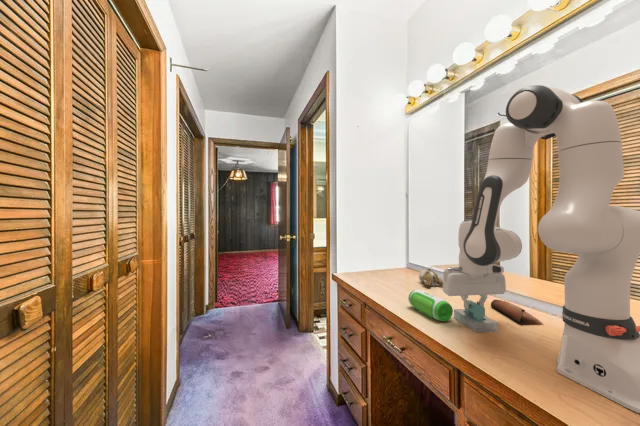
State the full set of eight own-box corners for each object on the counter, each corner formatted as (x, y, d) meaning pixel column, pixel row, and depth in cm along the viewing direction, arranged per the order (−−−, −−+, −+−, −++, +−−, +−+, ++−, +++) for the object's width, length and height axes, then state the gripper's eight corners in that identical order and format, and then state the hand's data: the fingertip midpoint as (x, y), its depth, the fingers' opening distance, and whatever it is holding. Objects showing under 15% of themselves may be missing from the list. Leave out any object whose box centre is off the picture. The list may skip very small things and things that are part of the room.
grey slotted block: (497, 331, 90) (497, 322, 90) (475, 332, 89) (475, 323, 89) (472, 316, 103) (472, 308, 102) (454, 317, 102) (453, 309, 102)
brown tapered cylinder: (546, 325, 94) (535, 307, 94) (528, 336, 94) (517, 318, 94) (512, 307, 112) (502, 292, 112) (496, 316, 112) (487, 301, 112)
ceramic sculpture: (432, 265, 154) (448, 272, 140) (432, 280, 155) (448, 289, 140) (413, 266, 153) (428, 273, 138) (413, 282, 154) (428, 291, 139)
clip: (485, 329, 92) (484, 307, 92) (478, 329, 92) (477, 308, 92) (470, 319, 100) (470, 300, 100) (464, 320, 100) (463, 300, 100)
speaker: (454, 321, 99) (454, 300, 99) (436, 324, 97) (436, 302, 97) (423, 306, 116) (422, 287, 116) (407, 308, 114) (407, 289, 114)
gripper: (448, 269, 92) (448, 312, 92) (508, 267, 93) (509, 309, 93) (438, 265, 98) (439, 305, 98) (495, 264, 99) (496, 303, 100)
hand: (474, 307), depth 96 cm, fingers open, 3 cm apart
